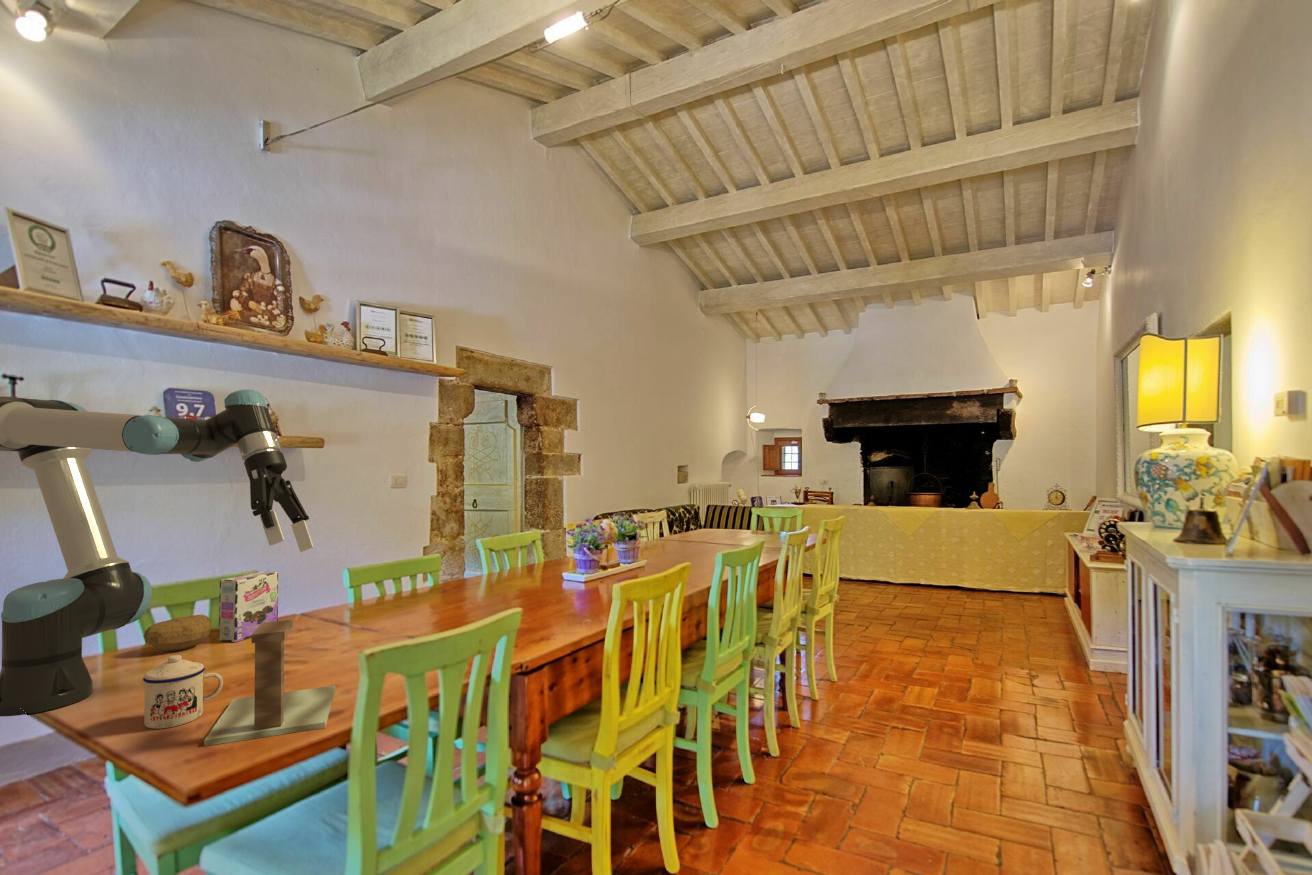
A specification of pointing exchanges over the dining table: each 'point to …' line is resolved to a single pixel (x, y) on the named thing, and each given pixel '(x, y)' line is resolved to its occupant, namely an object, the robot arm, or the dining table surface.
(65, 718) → the dining table surface
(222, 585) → the candy box
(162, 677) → the teacup with lid
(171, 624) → the potato
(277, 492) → the robot arm
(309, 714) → the stand
